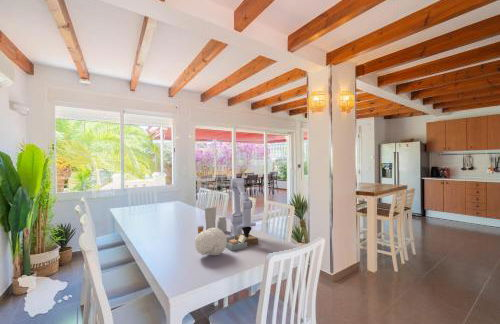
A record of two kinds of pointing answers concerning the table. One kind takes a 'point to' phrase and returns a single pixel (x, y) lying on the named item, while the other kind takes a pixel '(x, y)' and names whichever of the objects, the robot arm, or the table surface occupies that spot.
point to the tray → (236, 246)
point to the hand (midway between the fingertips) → (246, 237)
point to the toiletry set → (213, 220)
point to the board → (248, 239)
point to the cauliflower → (211, 241)
